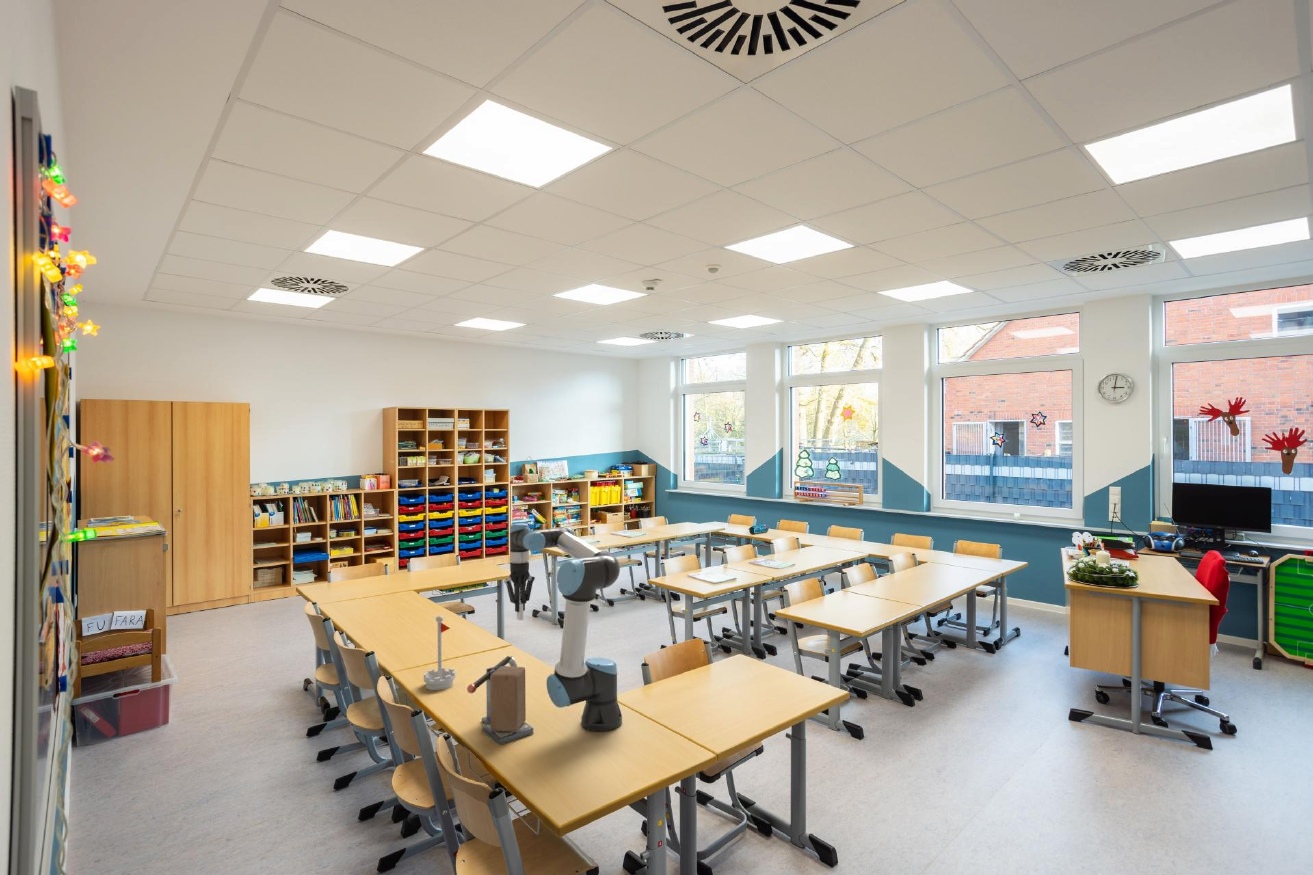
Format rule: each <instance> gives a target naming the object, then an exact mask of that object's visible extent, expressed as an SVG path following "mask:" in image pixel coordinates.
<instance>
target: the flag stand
mask: <svg viewBox="0 0 1313 875" xmlns="http://www.w3.org/2000/svg"><path fill="white" fill-rule="evenodd" d="M443 620H444V617H443V616H442V615H437V616H436V617H435V621H436V622H437V670H436V671H435V669H434V668H433V669H430V670H428V672H424V674H423V682H424V683H425V685H426V686H425V687H426V689H428V690H430V691H441V690H445V689H446V690H447V689H449V688H451V687H452V686H453V685H454V680H455V678H456V675H457V674H456V670H455V668H452V667H449V668H448V669H446V667H443V666H442V663H443V662H442V659H443V658H442V655H443V654H442V652H443V651H442V633H444V632H445V631H448V630H449V629H451V627H449V626H447V625H446V624H444V623H443Z"/></svg>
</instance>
